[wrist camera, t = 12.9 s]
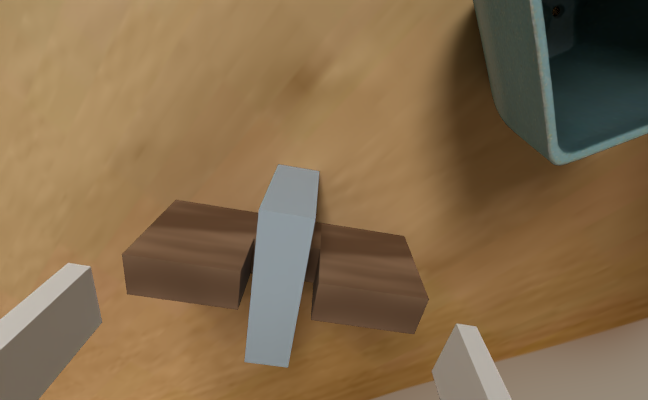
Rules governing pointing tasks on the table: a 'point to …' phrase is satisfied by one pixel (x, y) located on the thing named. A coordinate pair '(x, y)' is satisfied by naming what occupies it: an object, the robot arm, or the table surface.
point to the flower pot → (568, 72)
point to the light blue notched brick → (280, 264)
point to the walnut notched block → (238, 261)
